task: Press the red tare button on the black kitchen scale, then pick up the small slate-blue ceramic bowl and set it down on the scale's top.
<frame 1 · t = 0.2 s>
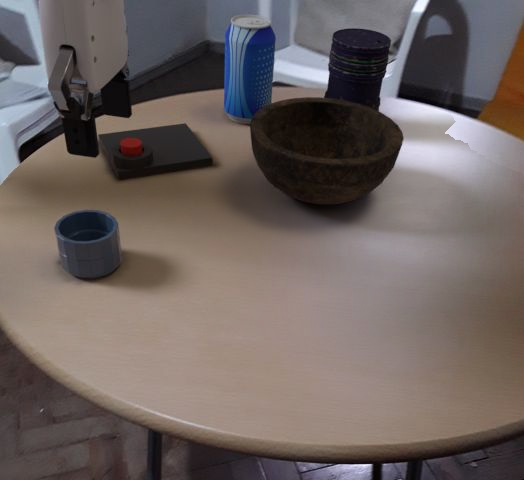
hand: (101, 134, 67), 18 cm above the table, tool pointing down, fingers open, 9 cm apart
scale: (154, 153, 101), on the table
tare button: (131, 147, 95), point 3 cm above the table, slide at 0.1 cm
beer can: (247, 117, 114), on the table
storage jar: (347, 127, 113), on the table
small bowl: (92, 263, 79), on the table
bowl: (318, 192, 96), on the table
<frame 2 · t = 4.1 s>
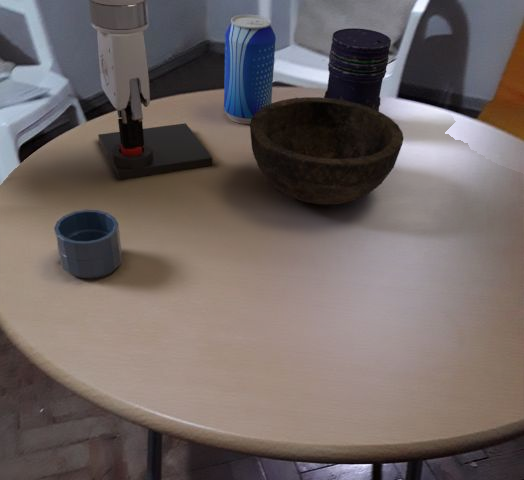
hand: (132, 145, 95), 4 cm above the table, tool pointing down, fingers closed
tare button: (131, 150, 96), point 3 cm above the table, slide at -0.3 cm, touching gripper
everything else where it was.
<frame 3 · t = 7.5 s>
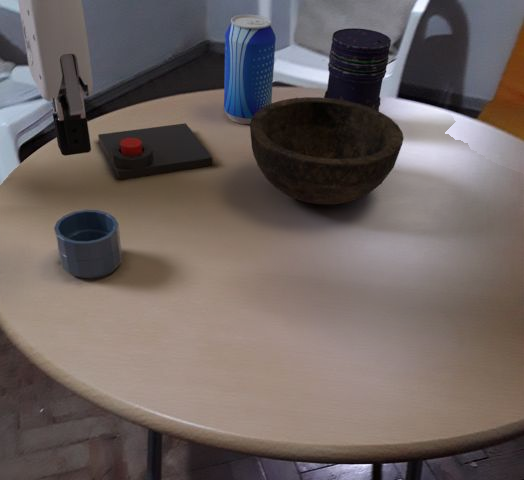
hand: (75, 150, 69), 15 cm above the table, tool pointing down, fingers closed
tare button: (131, 147, 95), point 3 cm above the table, slide at 0.1 cm
everything else where it was.
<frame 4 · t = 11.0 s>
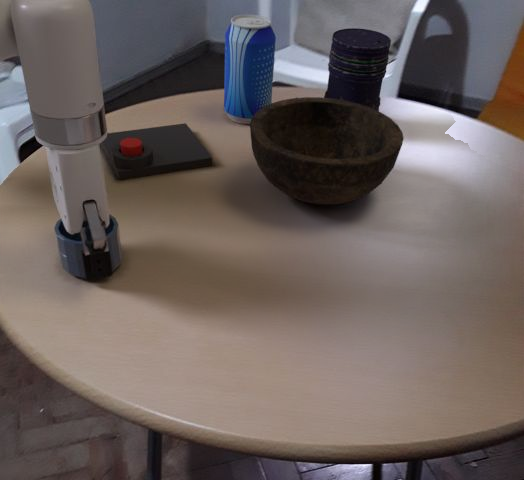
hand: (91, 257, 79), 1 cm above the table, tool pointing down, fingers closed on small bowl, 7 cm apart
small bowl: (92, 263, 79), on the table, touching gripper
everything else where it was.
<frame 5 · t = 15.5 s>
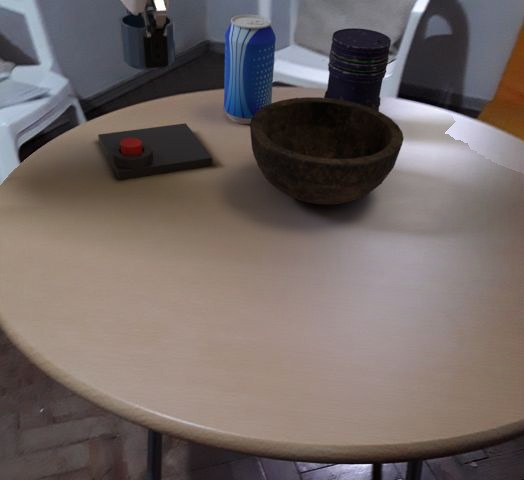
hand: (148, 55, 89), 16 cm above the table, tool pointing down, fingers closed on small bowl, 7 cm apart
small bowl: (149, 62, 90), point 15 cm above the table, touching gripper
everything else where it was.
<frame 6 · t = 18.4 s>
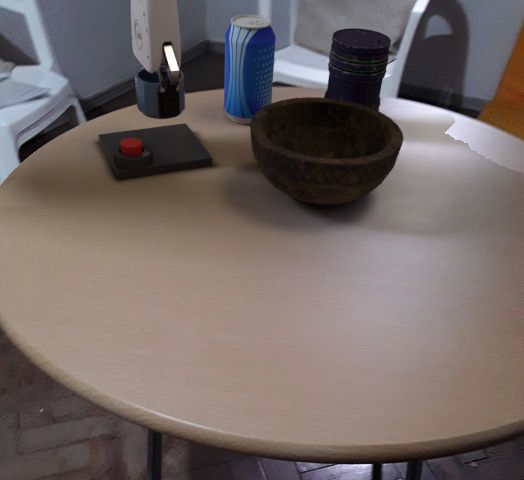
hand: (161, 105, 99), 7 cm above the table, tool pointing down, fingers closed on small bowl, 7 cm apart
small bowl: (161, 110, 99), point 6 cm above the table, touching gripper
everything else where it was.
when the fingers open (2 cm above the table, at t = 20.5 s): small bowl stays where it is, resting on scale.
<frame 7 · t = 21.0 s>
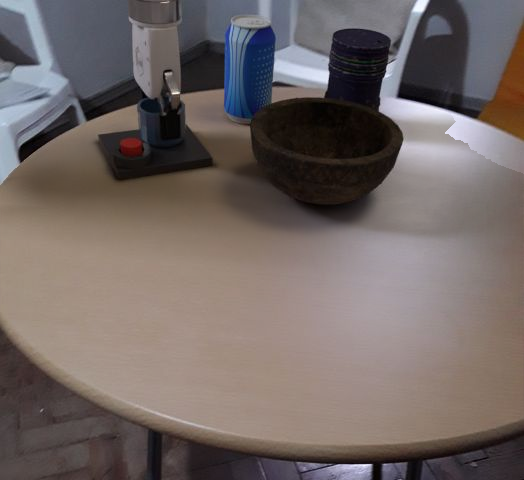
hand: (161, 125, 101), 4 cm above the table, tool pointing down, fingers open, 9 cm apart
small bowl: (163, 138, 102), point 1 cm above the table, touching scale
everything else where it was.
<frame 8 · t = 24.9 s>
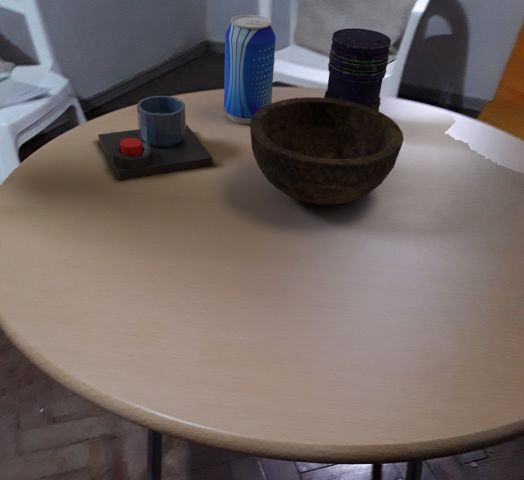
nothing on the table moved.
at the end: tare button pushed in 0.9 cm at the most during the clip, back to where it started at the end; small bowl inside the target area on the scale (0.8 cm from its centre), point 1.4 cm above the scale's base; small bowl touching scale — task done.
